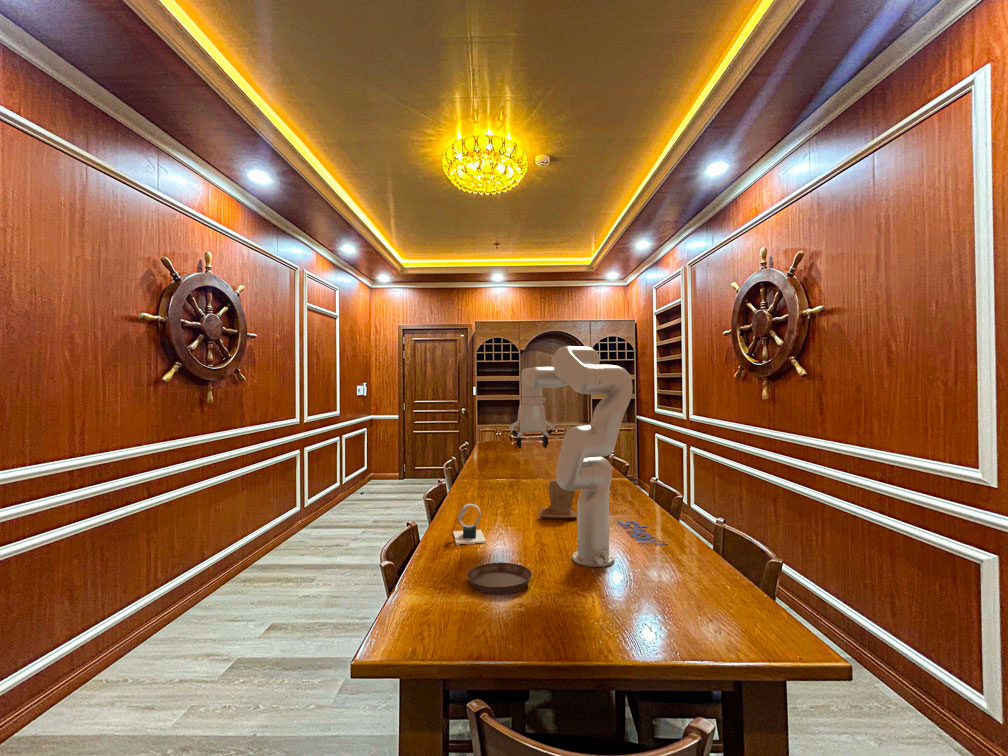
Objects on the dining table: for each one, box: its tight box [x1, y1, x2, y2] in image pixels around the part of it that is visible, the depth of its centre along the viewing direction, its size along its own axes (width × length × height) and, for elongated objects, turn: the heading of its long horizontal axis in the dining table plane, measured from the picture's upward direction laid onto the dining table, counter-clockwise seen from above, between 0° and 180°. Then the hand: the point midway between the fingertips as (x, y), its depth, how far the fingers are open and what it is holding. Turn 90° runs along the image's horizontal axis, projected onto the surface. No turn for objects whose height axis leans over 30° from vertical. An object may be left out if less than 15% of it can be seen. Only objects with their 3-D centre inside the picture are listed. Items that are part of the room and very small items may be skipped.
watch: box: [457, 503, 482, 539], centre depth 176 cm, size 6×8×11 cm
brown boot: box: [538, 479, 577, 519], centre depth 203 cm, size 15×12×15 cm
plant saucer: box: [466, 561, 533, 595], centre depth 137 cm, size 18×18×3 cm
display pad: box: [452, 529, 487, 546], centre depth 176 cm, size 13×10×1 cm
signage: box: [616, 520, 669, 546], centre depth 182 cm, size 28×1×10 cm
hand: (532, 447), depth 187 cm, fingers open, 9 cm apart
